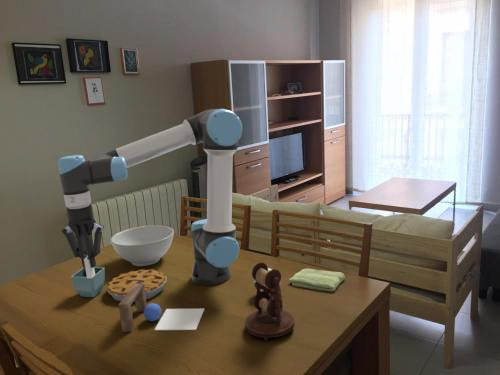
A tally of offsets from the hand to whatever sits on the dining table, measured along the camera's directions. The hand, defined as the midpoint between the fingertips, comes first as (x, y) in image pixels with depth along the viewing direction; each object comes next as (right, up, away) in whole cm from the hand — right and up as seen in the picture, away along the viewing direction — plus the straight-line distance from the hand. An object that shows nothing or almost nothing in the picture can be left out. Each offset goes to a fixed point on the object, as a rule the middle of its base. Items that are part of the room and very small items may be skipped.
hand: (91, 276), depth 140 cm
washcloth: (+75, -7, +20) cm, 78 cm away
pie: (+9, -10, +24) cm, 28 cm away
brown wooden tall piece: (+57, -14, -9) cm, 59 cm away
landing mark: (+29, -14, 0) cm, 32 cm away
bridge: (+14, -14, +2) cm, 20 cm away
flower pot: (-8, -11, +23) cm, 27 cm away
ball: (+20, -11, 0) cm, 23 cm away
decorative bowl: (+5, -4, +53) cm, 53 cm away
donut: (+57, -9, +12) cm, 59 cm away
